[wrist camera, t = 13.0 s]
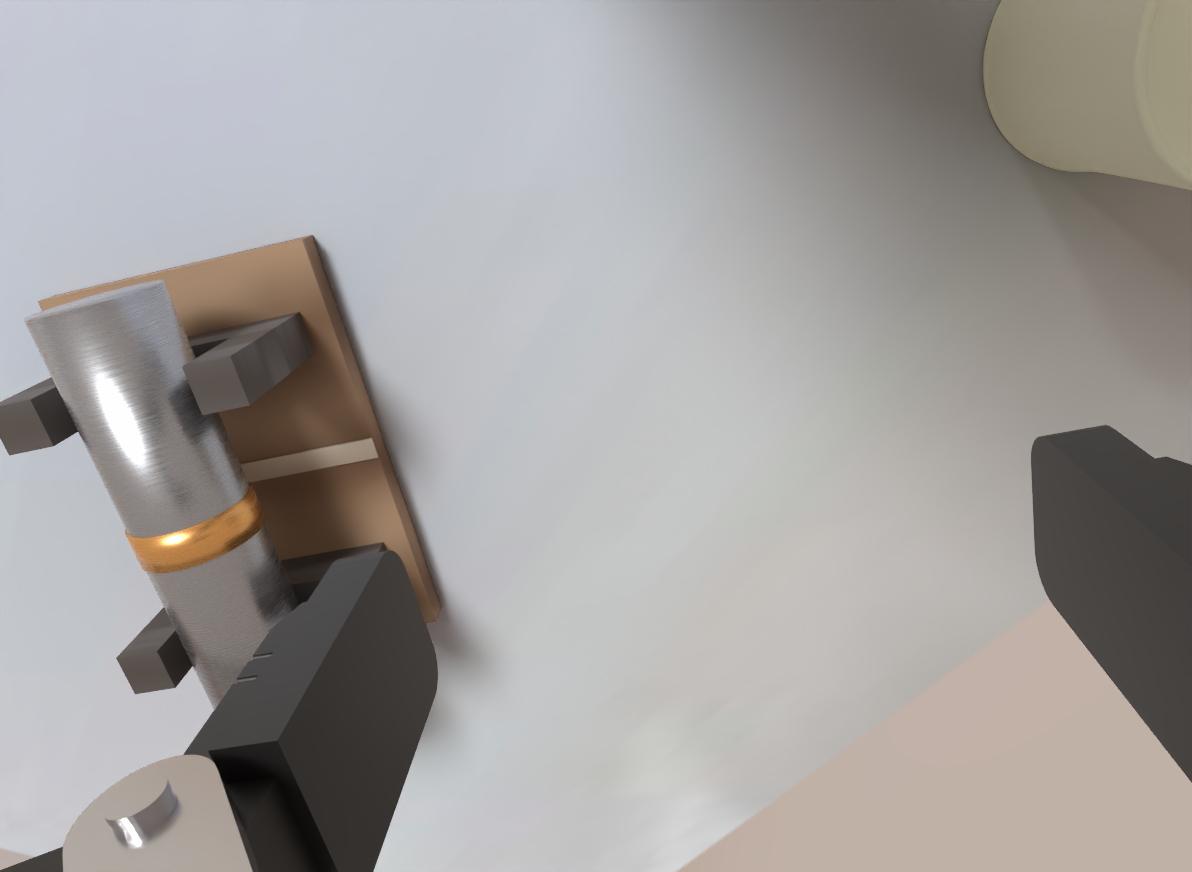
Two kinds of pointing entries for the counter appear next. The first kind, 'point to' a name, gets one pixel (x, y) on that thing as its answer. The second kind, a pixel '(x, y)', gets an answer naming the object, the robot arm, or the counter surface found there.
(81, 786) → the counter surface
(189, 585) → the tube
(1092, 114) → the can
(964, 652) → the counter surface
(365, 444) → the cradle stand
